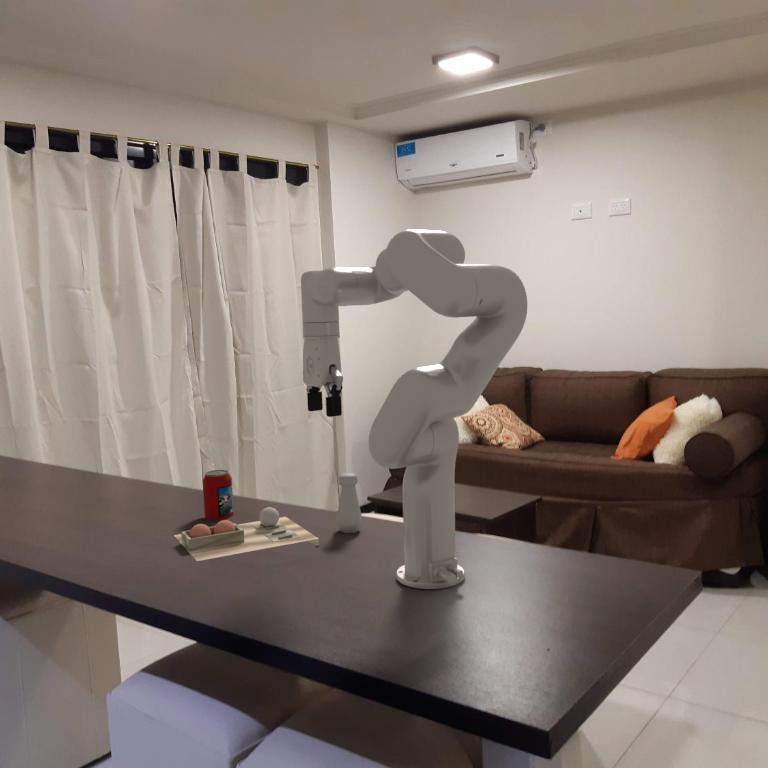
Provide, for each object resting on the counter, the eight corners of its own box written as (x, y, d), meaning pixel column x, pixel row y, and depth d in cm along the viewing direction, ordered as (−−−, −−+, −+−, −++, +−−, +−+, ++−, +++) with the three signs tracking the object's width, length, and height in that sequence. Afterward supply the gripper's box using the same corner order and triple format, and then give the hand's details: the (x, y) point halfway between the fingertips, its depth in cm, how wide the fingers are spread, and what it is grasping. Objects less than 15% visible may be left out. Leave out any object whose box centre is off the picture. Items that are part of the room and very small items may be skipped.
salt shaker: (351, 536, 169) (348, 478, 168) (331, 532, 173) (329, 475, 171) (367, 529, 174) (365, 472, 173) (348, 525, 177) (346, 470, 176)
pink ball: (214, 545, 161) (212, 525, 160) (193, 549, 159) (191, 528, 158) (208, 540, 165) (207, 520, 164) (187, 543, 163) (186, 523, 162)
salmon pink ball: (218, 545, 161) (217, 525, 160) (212, 539, 165) (211, 519, 164) (238, 541, 163) (237, 521, 162) (232, 535, 167) (231, 515, 166)
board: (319, 545, 163) (318, 527, 163) (197, 568, 151) (196, 548, 151) (285, 522, 181) (285, 506, 181) (174, 541, 169) (173, 524, 169)
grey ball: (282, 527, 172) (281, 508, 171) (263, 530, 170) (262, 511, 169) (275, 522, 176) (274, 503, 175) (257, 525, 174) (256, 506, 173)
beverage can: (230, 525, 180) (227, 475, 179) (201, 526, 181) (199, 475, 179) (236, 517, 187) (234, 468, 186) (209, 517, 187) (206, 469, 186)
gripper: (289, 331, 164) (292, 410, 166) (321, 333, 149) (324, 420, 151) (321, 329, 168) (324, 407, 170) (355, 331, 153) (358, 416, 155)
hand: (324, 413), depth 160 cm, fingers open, 9 cm apart
